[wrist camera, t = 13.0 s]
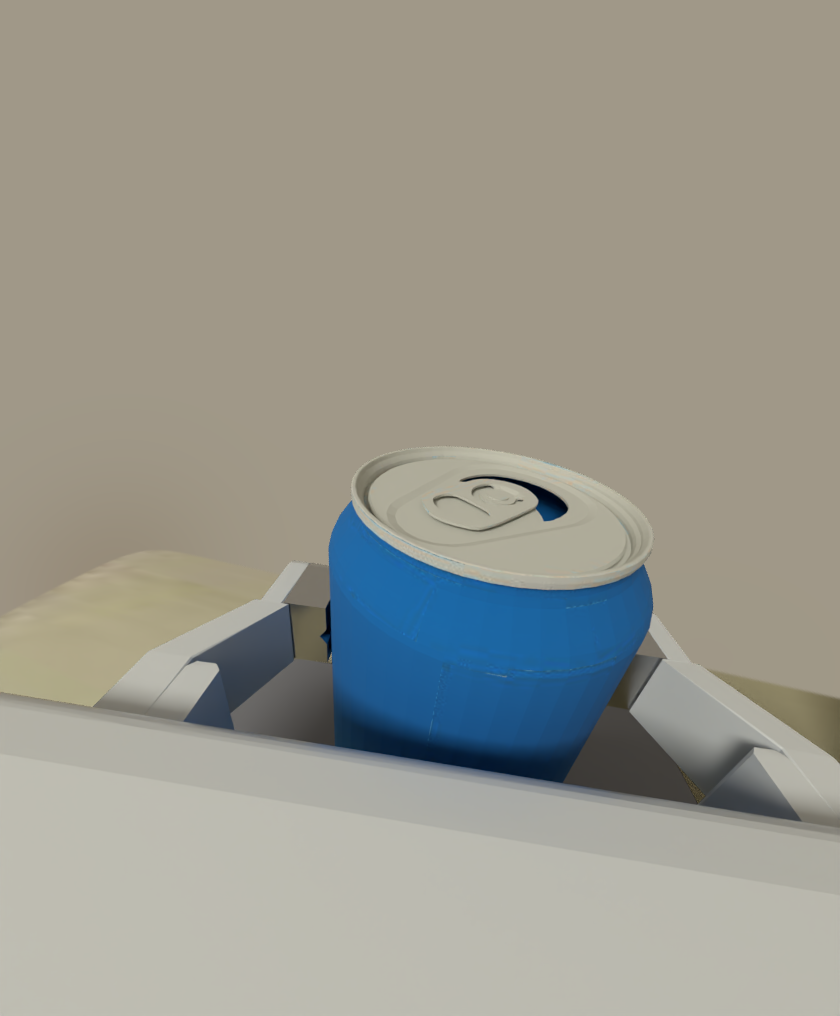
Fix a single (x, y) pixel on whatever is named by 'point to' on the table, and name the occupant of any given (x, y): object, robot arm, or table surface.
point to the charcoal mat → (600, 764)
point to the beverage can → (482, 608)
